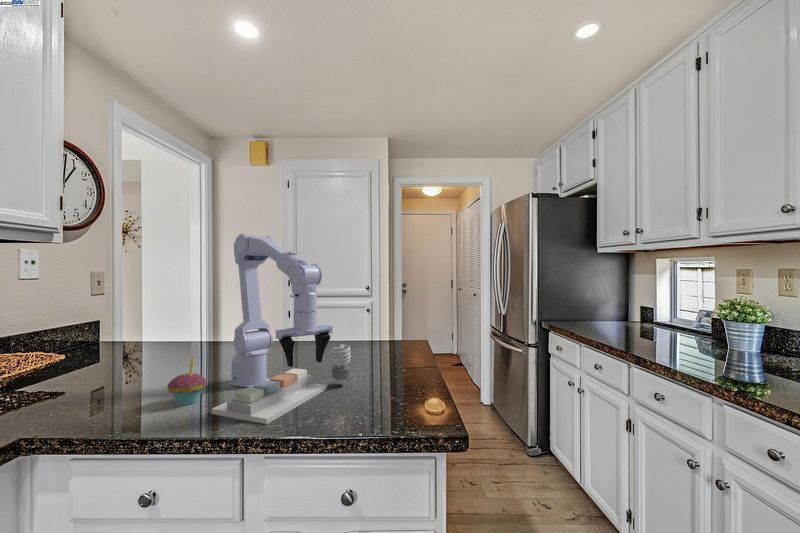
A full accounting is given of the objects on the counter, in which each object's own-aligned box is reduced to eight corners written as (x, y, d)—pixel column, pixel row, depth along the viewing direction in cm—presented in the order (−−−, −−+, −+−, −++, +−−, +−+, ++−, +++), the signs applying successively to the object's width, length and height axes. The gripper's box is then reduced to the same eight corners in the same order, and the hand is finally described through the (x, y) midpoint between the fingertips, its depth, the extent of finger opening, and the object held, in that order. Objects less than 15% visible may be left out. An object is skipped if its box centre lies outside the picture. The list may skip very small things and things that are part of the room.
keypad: (211, 413, 86) (211, 399, 86) (280, 382, 110) (280, 371, 110) (266, 424, 81) (266, 408, 81) (327, 389, 104) (327, 377, 104)
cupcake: (213, 398, 96) (213, 352, 96) (185, 410, 88) (185, 360, 88) (188, 394, 99) (189, 350, 99) (159, 405, 91) (159, 357, 91)
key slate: (253, 394, 91) (253, 385, 91) (265, 388, 95) (265, 380, 95) (268, 396, 89) (268, 387, 89) (279, 390, 94) (279, 382, 94)
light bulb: (346, 388, 104) (347, 346, 104) (328, 387, 105) (328, 345, 105) (353, 382, 110) (353, 342, 110) (335, 381, 111) (335, 341, 111)
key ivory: (284, 380, 102) (284, 372, 102) (294, 375, 106) (294, 368, 106) (297, 382, 101) (297, 374, 101) (307, 377, 105) (307, 369, 105)
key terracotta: (269, 386, 97) (270, 378, 97) (280, 381, 101) (280, 373, 101) (283, 388, 95) (283, 380, 95) (294, 383, 99) (294, 375, 99)
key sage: (235, 402, 85) (235, 393, 85) (248, 396, 89) (248, 387, 89) (250, 405, 84) (250, 395, 84) (263, 398, 88) (263, 389, 88)
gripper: (282, 314, 87) (281, 372, 87) (337, 310, 95) (337, 363, 95) (273, 311, 92) (272, 365, 92) (326, 308, 101) (325, 357, 101)
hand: (304, 363), depth 94 cm, fingers open, 7 cm apart
